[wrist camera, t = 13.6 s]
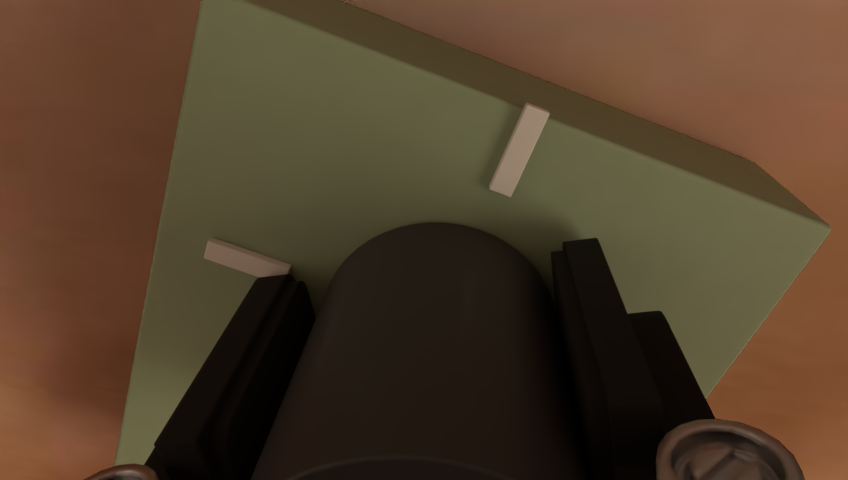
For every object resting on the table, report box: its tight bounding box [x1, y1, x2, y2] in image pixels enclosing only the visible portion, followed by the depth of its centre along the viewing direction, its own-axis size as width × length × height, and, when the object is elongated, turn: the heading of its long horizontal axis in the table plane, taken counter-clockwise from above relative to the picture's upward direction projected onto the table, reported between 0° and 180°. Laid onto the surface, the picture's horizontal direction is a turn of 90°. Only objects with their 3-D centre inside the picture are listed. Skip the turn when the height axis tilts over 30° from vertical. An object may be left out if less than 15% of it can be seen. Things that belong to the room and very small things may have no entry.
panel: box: [114, 0, 831, 466], centre depth 13 cm, size 12×10×3 cm
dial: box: [250, 222, 590, 480], centre depth 9 cm, size 4×4×5 cm
